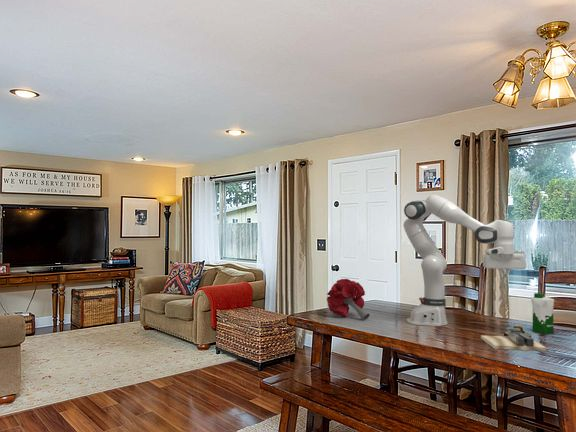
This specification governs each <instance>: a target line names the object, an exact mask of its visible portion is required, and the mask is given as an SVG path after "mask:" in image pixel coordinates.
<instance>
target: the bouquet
mask: <svg viewBox="0 0 576 432" xmlns="http://www.w3.org/2000/svg"><path fill="white" fill-rule="evenodd" d="M326 295H327V296H326V302H327V307H328V309H329V311H330V312H332V313H333V314H335V315H337V316H340V317H342V318H346V317H347V316H348V313H349V312H350V306H351V308H353V309H354V310H355V311H356V313H357V314H358V316H359V317H360V318H361V319H362V320H363V321H366V320H368V319H369V317H370V315H371V314H370V313H369V312H368V311H367V310H366V309H364V306H365V299H364V298H363V297H364V296H366V292H365V290H364V287H363V286H362V285H361V284H360V283H359V282H357V281H355V280H351V279H349V278H341V279H340V278H339V279H338V280H336V282H335V283H333V284H332V285H331V288H330V290H329V291H328V292H327V293H326Z"/></svg>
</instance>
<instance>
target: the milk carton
mask: <svg viewBox="0 0 576 432" xmlns="http://www.w3.org/2000/svg"><path fill="white" fill-rule="evenodd" d="M533 294H534V295H533V297H531V298H530V300H531V304H532V305H531V306H532V327H531V328H532V330H531V332H533V333H535V334H536V333H537V334H540V333H541V334H542V335H551V334H554V333H555V332H554V331H555V327H554V304H555V299H554V298H550V297H544V294H543V293H538V292H537V293H536V292H534V293H533ZM541 334H540V335H541Z"/></svg>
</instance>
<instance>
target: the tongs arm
mask: <svg viewBox="0 0 576 432" xmlns="http://www.w3.org/2000/svg"><path fill="white" fill-rule="evenodd" d="M508 337H509V339H511V340H512V341H513V342H515V343H516V344H517V345H520V346H525V341H524V338H522V337H520V336H519V335H517V334H516V333H514V332H509V335H508Z"/></svg>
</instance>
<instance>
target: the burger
mask: <svg viewBox="0 0 576 432" xmlns="http://www.w3.org/2000/svg"><path fill="white" fill-rule="evenodd" d="M512 328H519V329H521V331H515V333H516V332H521V333H523V334H525V335H526V336H528V337H530V338H532V334H530V333H528V332H526V331H525V330H524V327H523V326H522V325H520V323H519V322H518V323H517V324H515V325H514V326H512ZM509 332H510V331H508V330H506V331H504V333H503V334H504V336H509ZM505 334H506V335H505Z"/></svg>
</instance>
